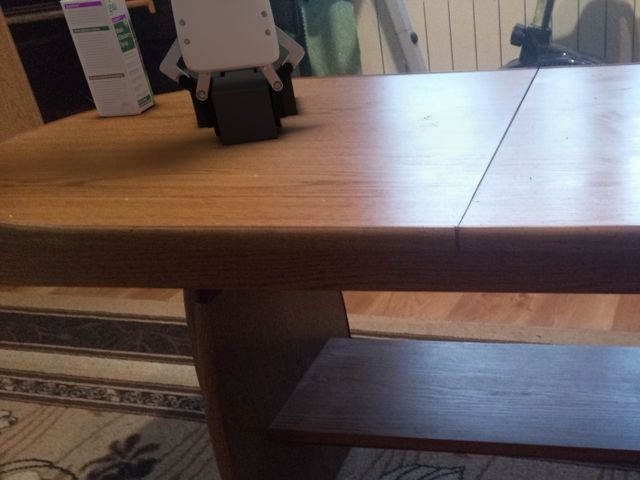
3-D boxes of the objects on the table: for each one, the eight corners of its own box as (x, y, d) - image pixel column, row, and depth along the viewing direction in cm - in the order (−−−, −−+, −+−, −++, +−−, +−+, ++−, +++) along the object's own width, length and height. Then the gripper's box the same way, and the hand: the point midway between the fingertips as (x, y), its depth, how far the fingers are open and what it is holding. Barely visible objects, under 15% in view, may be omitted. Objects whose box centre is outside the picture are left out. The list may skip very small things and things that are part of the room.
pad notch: (198, 127, 89) (186, 80, 86) (202, 109, 97) (191, 65, 94) (298, 114, 91) (289, 67, 88) (292, 97, 100) (284, 54, 97)
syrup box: (140, 114, 97) (104, -7, 89) (97, 117, 97) (57, -3, 90) (156, 104, 102) (124, -12, 94) (115, 107, 102) (79, -8, 95)
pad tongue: (223, 146, 81) (210, 94, 78) (224, 119, 92) (213, 73, 89) (278, 138, 82) (267, 87, 79) (273, 113, 93) (264, 67, 90)
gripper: (292, -59, 79) (321, 112, 89) (124, -44, 76) (173, 131, 85) (297, -56, 73) (327, 126, 82) (114, -40, 70) (168, 148, 79)
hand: (248, 127), depth 84 cm, fingers closed on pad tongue, 6 cm apart
